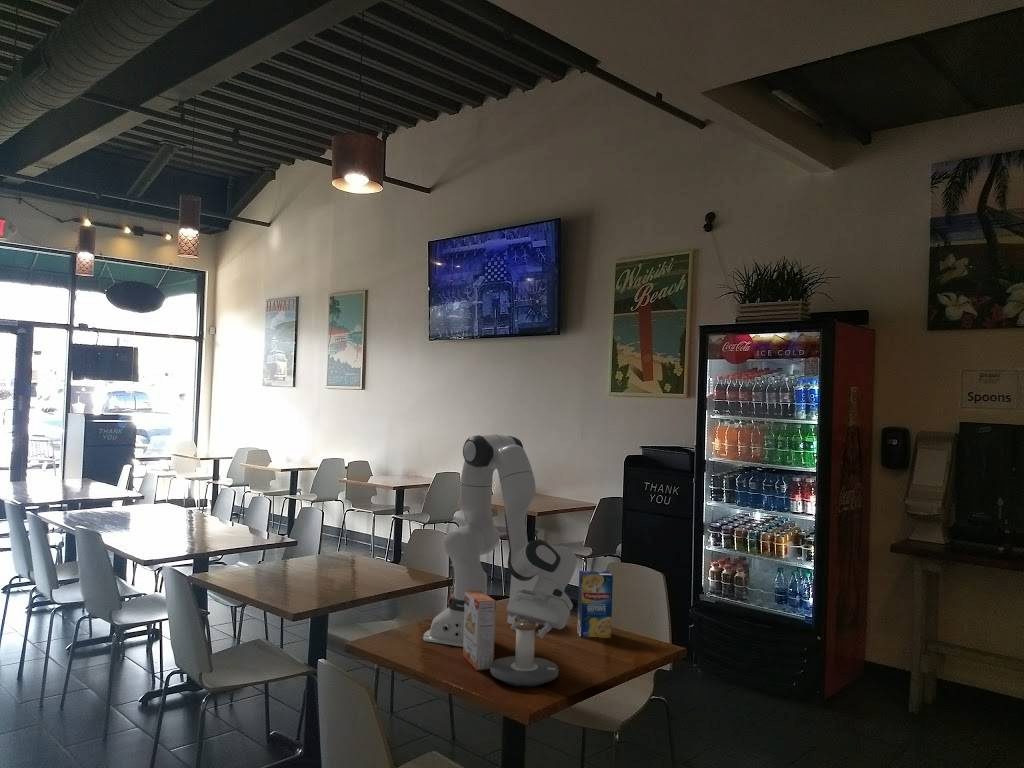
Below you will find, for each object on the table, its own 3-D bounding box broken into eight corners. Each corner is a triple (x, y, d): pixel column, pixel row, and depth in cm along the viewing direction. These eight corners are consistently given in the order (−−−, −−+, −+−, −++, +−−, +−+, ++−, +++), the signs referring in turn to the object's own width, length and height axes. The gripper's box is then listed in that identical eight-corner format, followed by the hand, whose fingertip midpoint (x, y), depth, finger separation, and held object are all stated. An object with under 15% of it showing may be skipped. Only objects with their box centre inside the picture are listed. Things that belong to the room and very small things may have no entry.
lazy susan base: (496, 684, 217) (496, 679, 217) (504, 668, 230) (504, 663, 230) (544, 688, 214) (545, 683, 214) (550, 672, 228) (550, 667, 228)
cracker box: (461, 657, 240) (464, 590, 241) (479, 655, 242) (481, 589, 243) (475, 671, 227) (477, 600, 228) (494, 669, 229) (496, 599, 230)
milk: (515, 616, 293) (518, 548, 294) (544, 619, 290) (546, 550, 291) (507, 623, 282) (509, 553, 283) (537, 627, 279) (539, 555, 280)
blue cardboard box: (611, 637, 268) (613, 575, 269) (580, 637, 267) (582, 574, 268) (606, 632, 275) (608, 571, 276) (577, 632, 274) (579, 570, 275)
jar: (513, 668, 220) (514, 625, 221) (515, 662, 226) (517, 620, 226) (532, 670, 219) (534, 626, 220) (535, 663, 225) (536, 621, 226)
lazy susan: (484, 680, 214) (484, 674, 214) (496, 658, 234) (496, 653, 234) (554, 687, 211) (554, 680, 211) (561, 664, 231) (561, 658, 231)
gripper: (515, 582, 236) (494, 620, 228) (570, 594, 224) (549, 634, 216) (523, 594, 240) (502, 632, 232) (577, 607, 227) (558, 647, 219)
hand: (525, 633), depth 223 cm, fingers open, 8 cm apart
